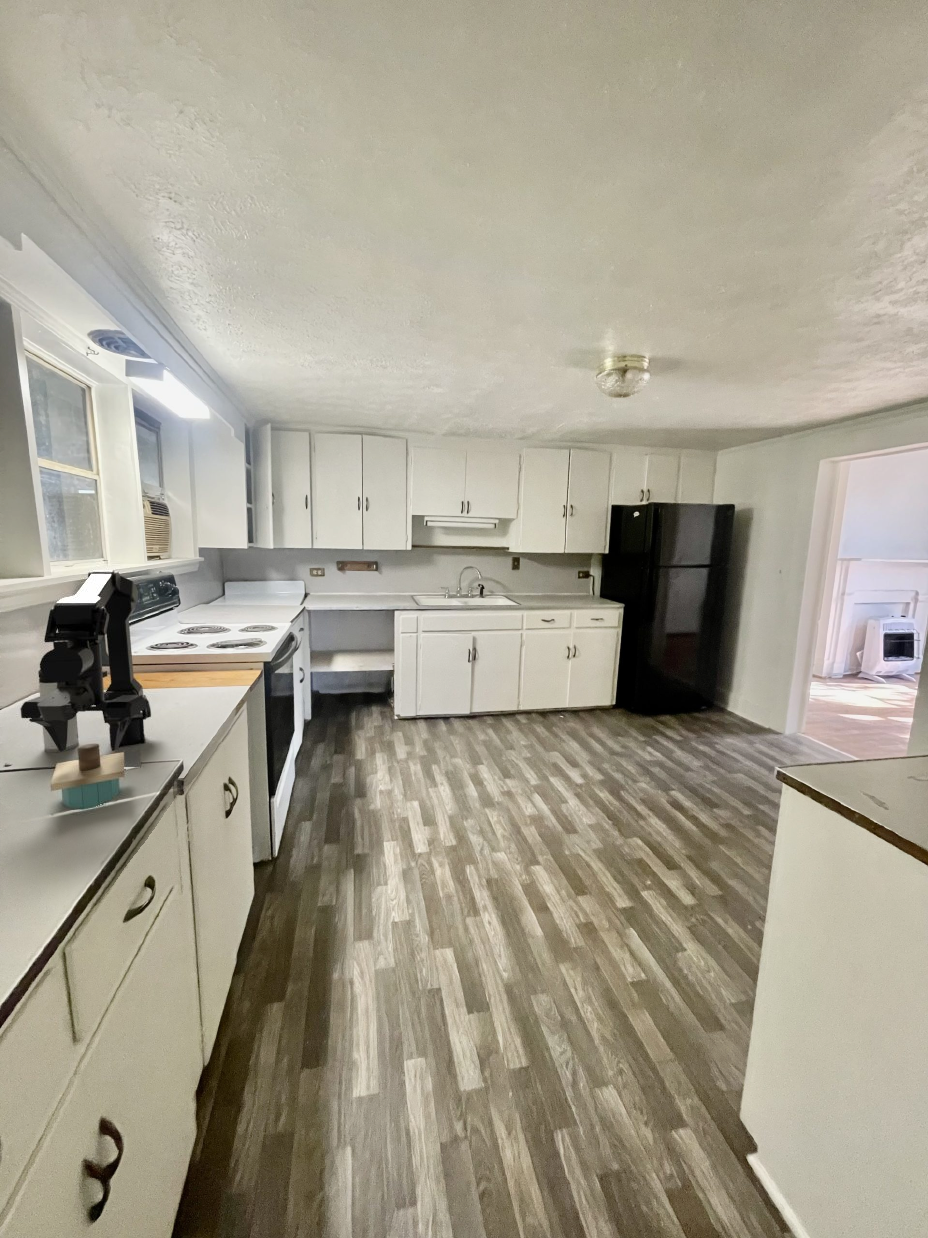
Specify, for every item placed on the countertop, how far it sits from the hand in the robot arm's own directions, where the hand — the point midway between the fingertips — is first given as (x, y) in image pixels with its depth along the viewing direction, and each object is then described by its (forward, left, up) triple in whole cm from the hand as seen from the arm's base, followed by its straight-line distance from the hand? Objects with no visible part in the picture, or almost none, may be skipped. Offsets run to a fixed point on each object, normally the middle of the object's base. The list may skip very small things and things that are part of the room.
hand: (88, 750), depth 91 cm
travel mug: (+7, -33, -10) cm, 35 cm away
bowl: (0, 0, -10) cm, 10 cm away
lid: (0, 0, -4) cm, 5 cm away
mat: (-2, -16, -10) cm, 19 cm away
